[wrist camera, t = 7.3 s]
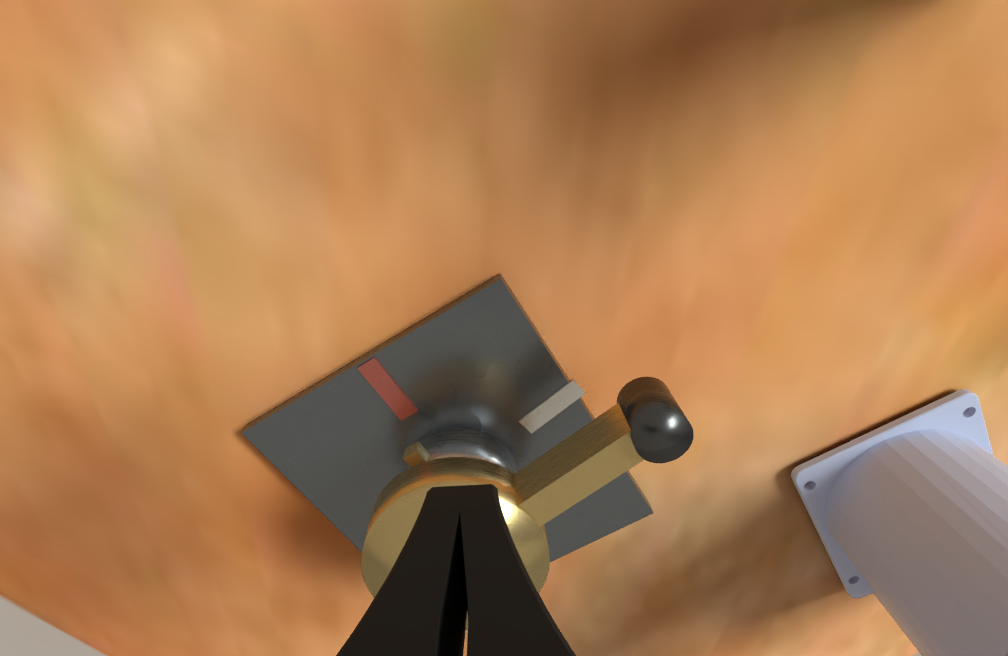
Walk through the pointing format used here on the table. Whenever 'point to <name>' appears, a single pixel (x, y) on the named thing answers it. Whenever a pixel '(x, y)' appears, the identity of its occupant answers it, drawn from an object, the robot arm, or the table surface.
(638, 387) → the brass lever handle
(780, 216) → the table surface
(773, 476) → the table surface
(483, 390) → the dark grey plate
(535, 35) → the table surface
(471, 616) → the robot arm
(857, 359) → the table surface
